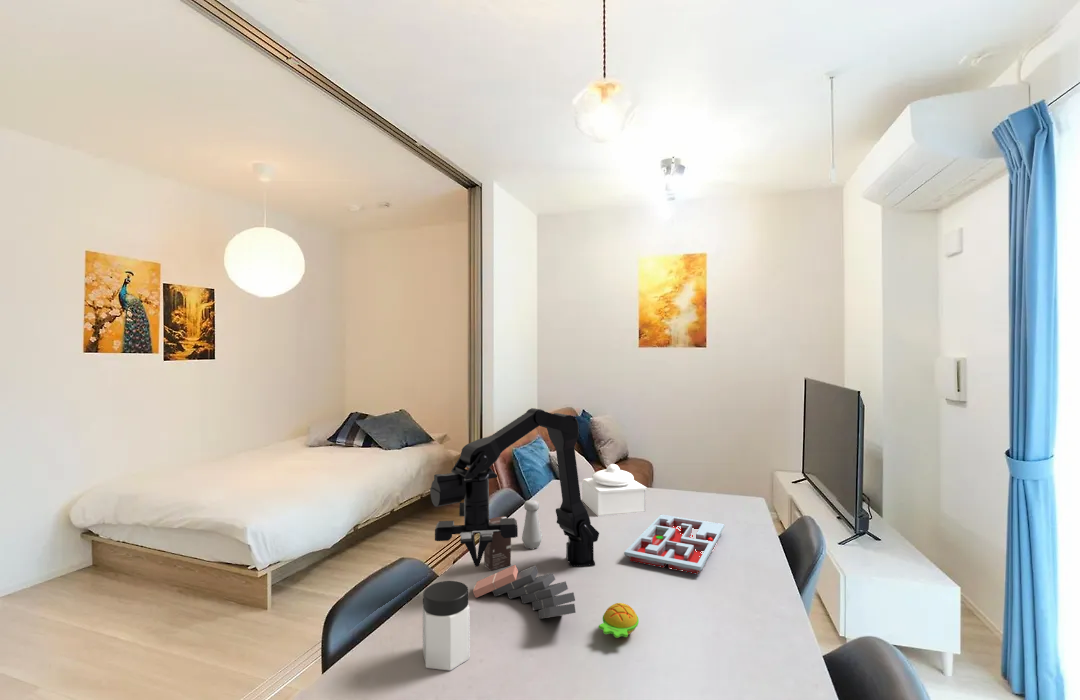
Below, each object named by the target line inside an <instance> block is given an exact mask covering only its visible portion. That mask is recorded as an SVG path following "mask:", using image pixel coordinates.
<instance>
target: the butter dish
mask: <svg viewBox="0 0 1080 700" xmlns="http://www.w3.org/2000/svg"><path fill="white" fill-rule="evenodd" d="M647 490H648V487H647V486H645V485H643V484H642V483H640V482H638V481H636V480H635V478H634V475H633V474H632V473H631V472H629V471H626V470H623V469H621V468H620V466H619V465H617V464H615V463H610V464H609V465H608V466H607V467H606V469H602V470H598V471H596V472H594V473H593V474H592V477H589V478H583V480H581V491H582V493H581V495H582V496H581V501H583V502H584V503H585V504H586V505H587V506H588V507H589V508H588V509H589V510H591V512H592V513H593V514H595V515H596V516H597V517H598V516H599V517H607V516H606V515H610V516H618V515H617V514H622V515H628V514H627V513H634V514H638V513H637V512H647V511H646V491H647ZM583 502H582V503H583ZM584 503H583V504H584ZM585 504H584V505H585ZM586 505H585V506H586ZM587 506H586V507H587Z"/></svg>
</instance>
